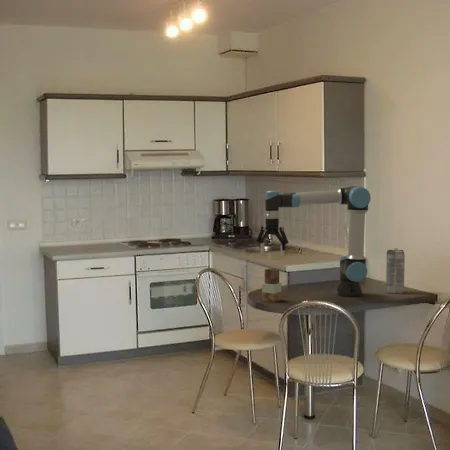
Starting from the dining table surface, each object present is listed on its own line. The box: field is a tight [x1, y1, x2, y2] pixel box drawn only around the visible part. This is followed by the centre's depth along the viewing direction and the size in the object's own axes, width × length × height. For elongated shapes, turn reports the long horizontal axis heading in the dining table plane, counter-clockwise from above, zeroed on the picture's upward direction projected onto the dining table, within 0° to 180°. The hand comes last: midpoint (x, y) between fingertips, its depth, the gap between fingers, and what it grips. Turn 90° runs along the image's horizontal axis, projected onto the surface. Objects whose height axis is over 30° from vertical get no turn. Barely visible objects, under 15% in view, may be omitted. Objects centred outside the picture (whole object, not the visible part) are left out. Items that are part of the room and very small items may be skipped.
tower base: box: [261, 291, 282, 303], centre depth 408 cm, size 8×8×5 cm
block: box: [264, 267, 280, 284], centre depth 407 cm, size 6×6×8 cm
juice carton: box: [385, 247, 406, 295], centre depth 429 cm, size 9×10×27 cm
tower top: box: [261, 282, 282, 294], centre depth 407 cm, size 8×8×5 cm
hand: (272, 255), depth 406 cm, fingers open, 13 cm apart
